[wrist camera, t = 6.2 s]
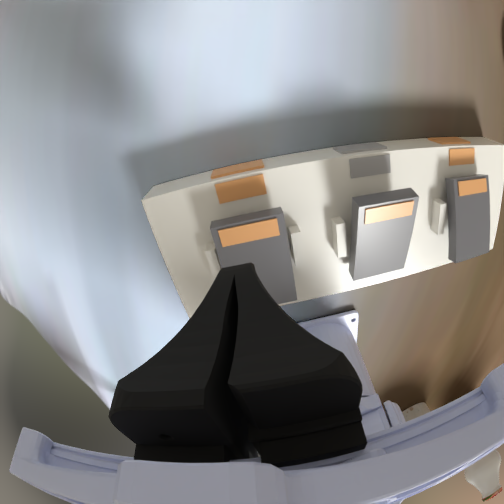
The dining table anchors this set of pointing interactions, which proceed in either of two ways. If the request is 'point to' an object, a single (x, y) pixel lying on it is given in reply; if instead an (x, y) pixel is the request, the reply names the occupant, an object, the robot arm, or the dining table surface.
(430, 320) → the dining table surface
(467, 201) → the rocker
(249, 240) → the rocker
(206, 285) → the switch panel
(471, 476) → the fruit juice
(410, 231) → the rocker
